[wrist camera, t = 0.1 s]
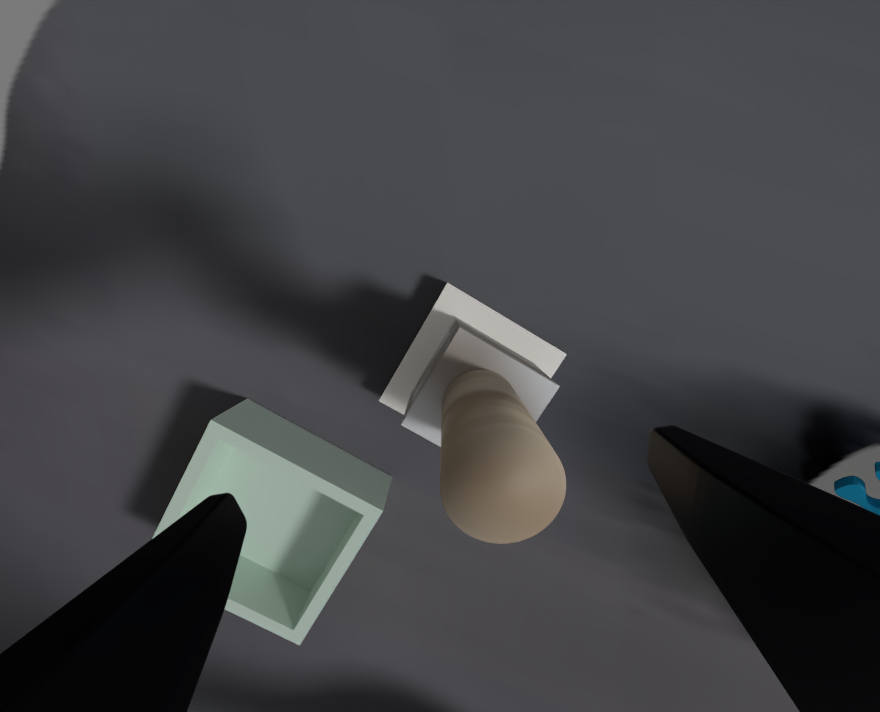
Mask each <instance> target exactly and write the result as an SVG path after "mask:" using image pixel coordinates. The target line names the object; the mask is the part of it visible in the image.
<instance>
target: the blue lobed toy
mask: <svg viewBox="0 0 880 712" xmlns="http://www.w3.org/2000/svg"><path fill="white" fill-rule="evenodd" d="M875 472H876V477H877V478H878V479H879V480H880V462H876V463H875ZM834 487H835V492H836V494H837V495H839V496H840V497H842V498H844V499H847V500H850V501H852V502H854V503H857V504H858V505H860V506H862V507H863V508H864V509H867V510H869V511H871V512H873V513H876V514H878V515H880V499H875V498H872V497H870V496H868V495H867V494H866V489H865V483H864V482H863V481H862V480H861V479H860V478H858V477H856V476H848V477H844V478H841V479H839V480H837V481H835V482H834Z"/></svg>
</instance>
